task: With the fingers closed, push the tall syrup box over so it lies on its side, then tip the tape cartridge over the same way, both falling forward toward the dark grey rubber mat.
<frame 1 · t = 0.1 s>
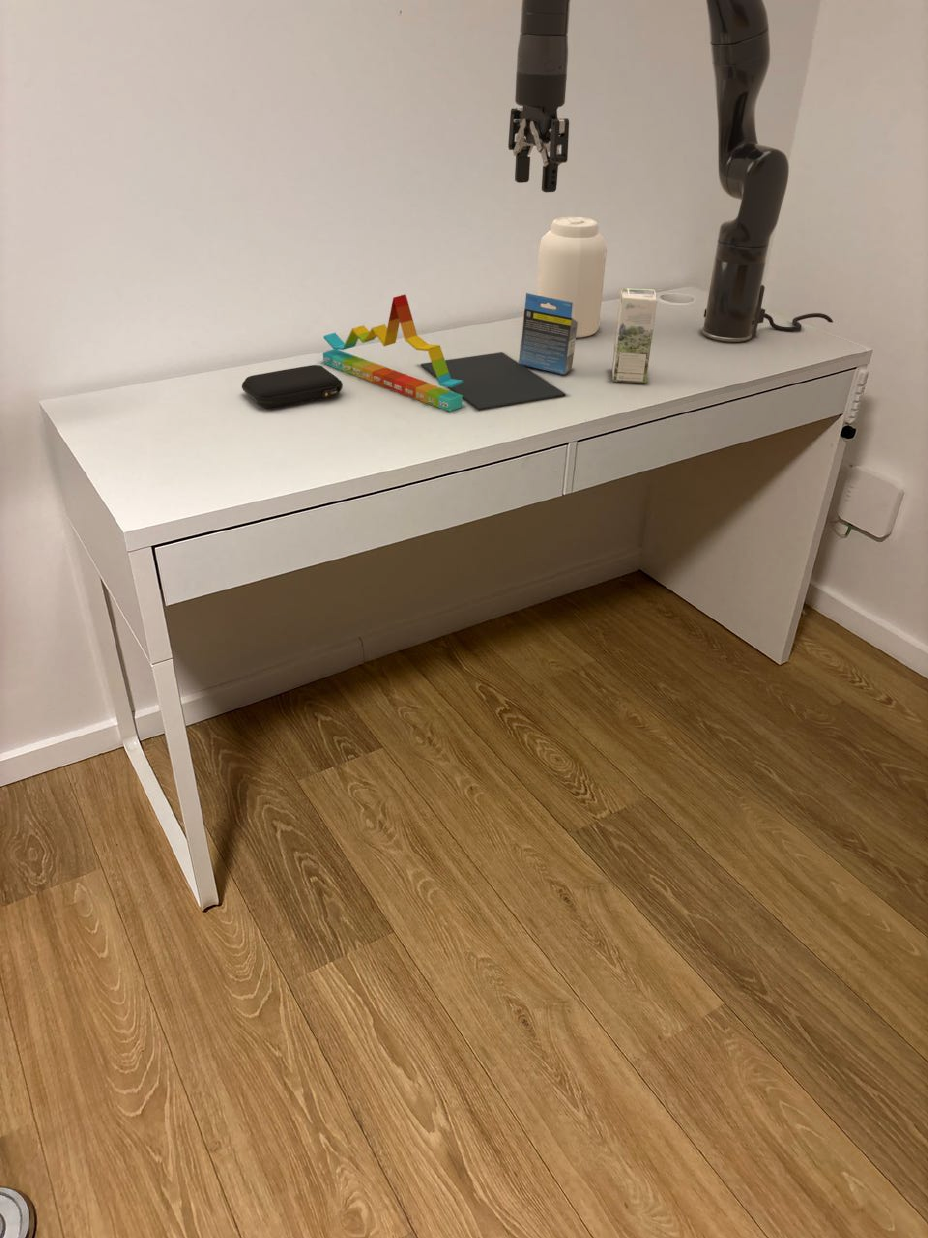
hand: (534, 186, 154), 29 cm above the table, tool pointing down, fingers open, 8 cm apart
carrying case: (294, 397, 156), on the table
syrup box: (628, 378, 167), on the table
chart: (389, 385, 161), on the table
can: (566, 329, 188), on the table
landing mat: (490, 380, 164), on the table
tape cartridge: (545, 368, 169), on the table, touching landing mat
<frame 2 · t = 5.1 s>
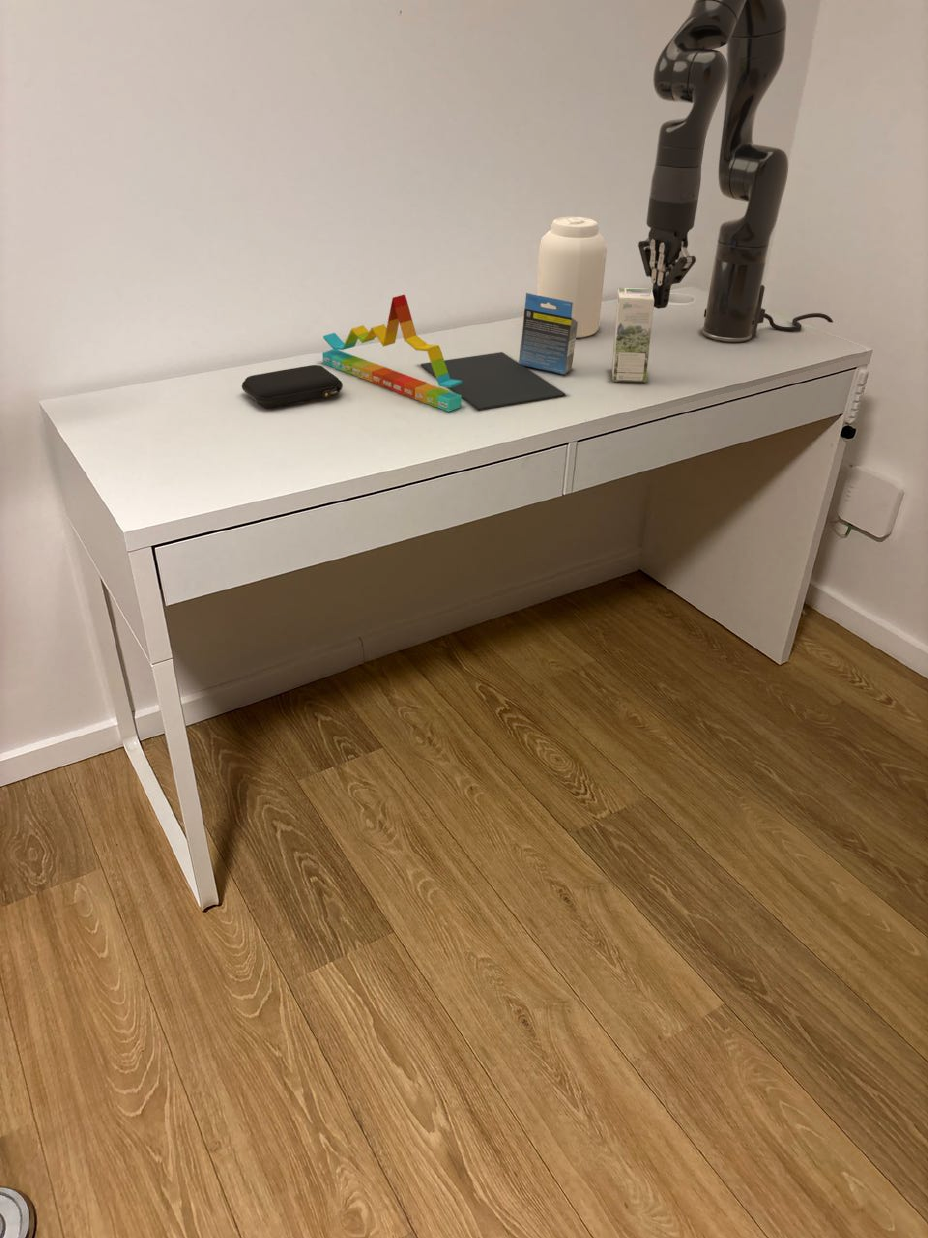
hand: (658, 306, 162), 12 cm above the table, tool pointing down, fingers closed
nothing on the table moved.
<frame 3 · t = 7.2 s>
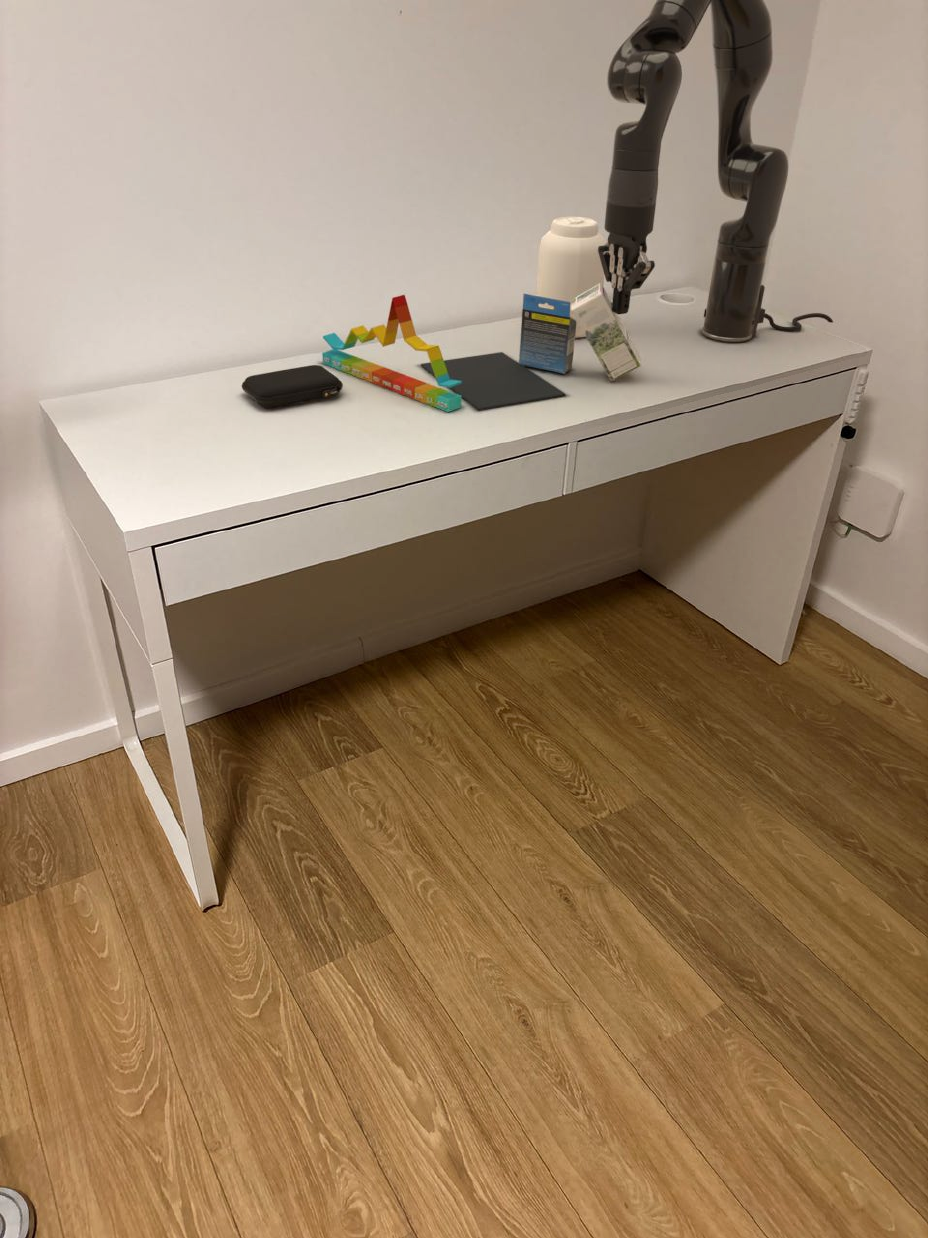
hand: (619, 312, 159), 12 cm above the table, tool pointing down, fingers closed
syrup box: (626, 369, 166), point 1 cm above the table, touching gripper, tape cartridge
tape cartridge: (545, 367, 169), on the table, touching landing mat, syrup box
everything else where it was.
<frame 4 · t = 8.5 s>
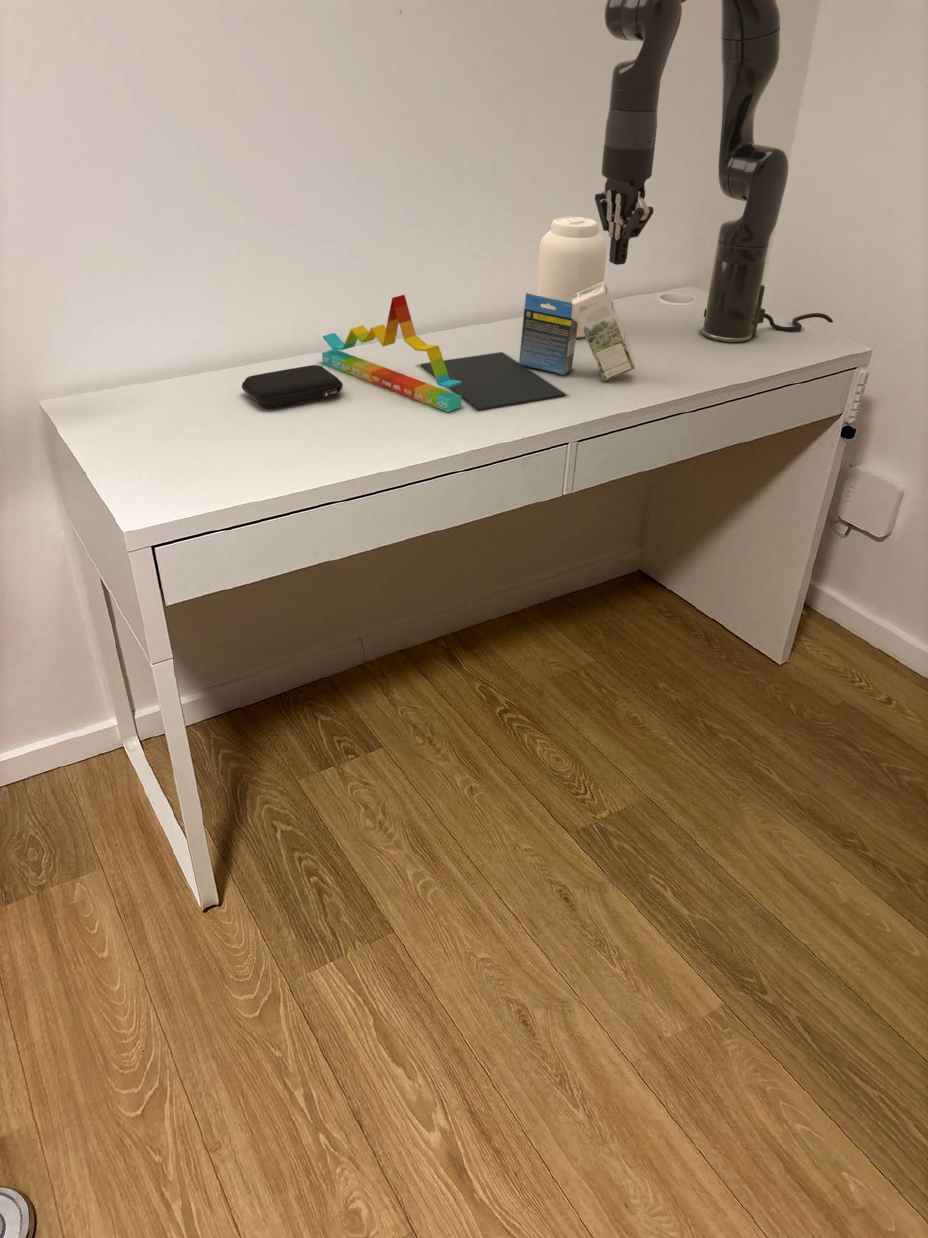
hand: (617, 262, 154), 20 cm above the table, tool pointing down, fingers closed
syrup box: (620, 371, 166), point 1 cm above the table
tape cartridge: (545, 368, 169), on the table, touching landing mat
everything else where it was.
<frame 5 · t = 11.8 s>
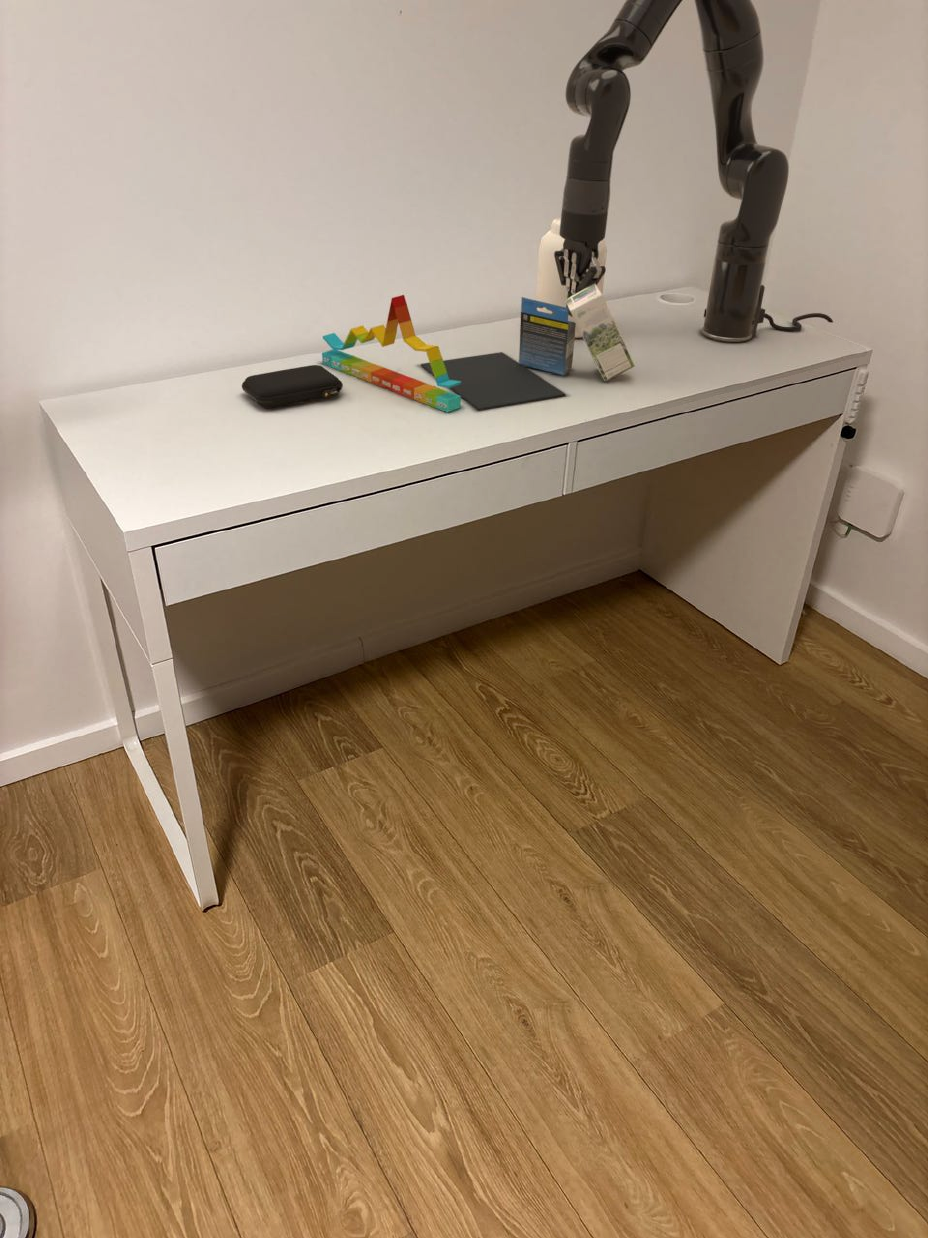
hand: (573, 314, 167), 9 cm above the table, tool pointing down, fingers closed
syrup box: (617, 369, 166), point 1 cm above the table, touching hand, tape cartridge
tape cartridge: (545, 367, 169), on the table, touching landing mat, syrup box
everything else where it was.
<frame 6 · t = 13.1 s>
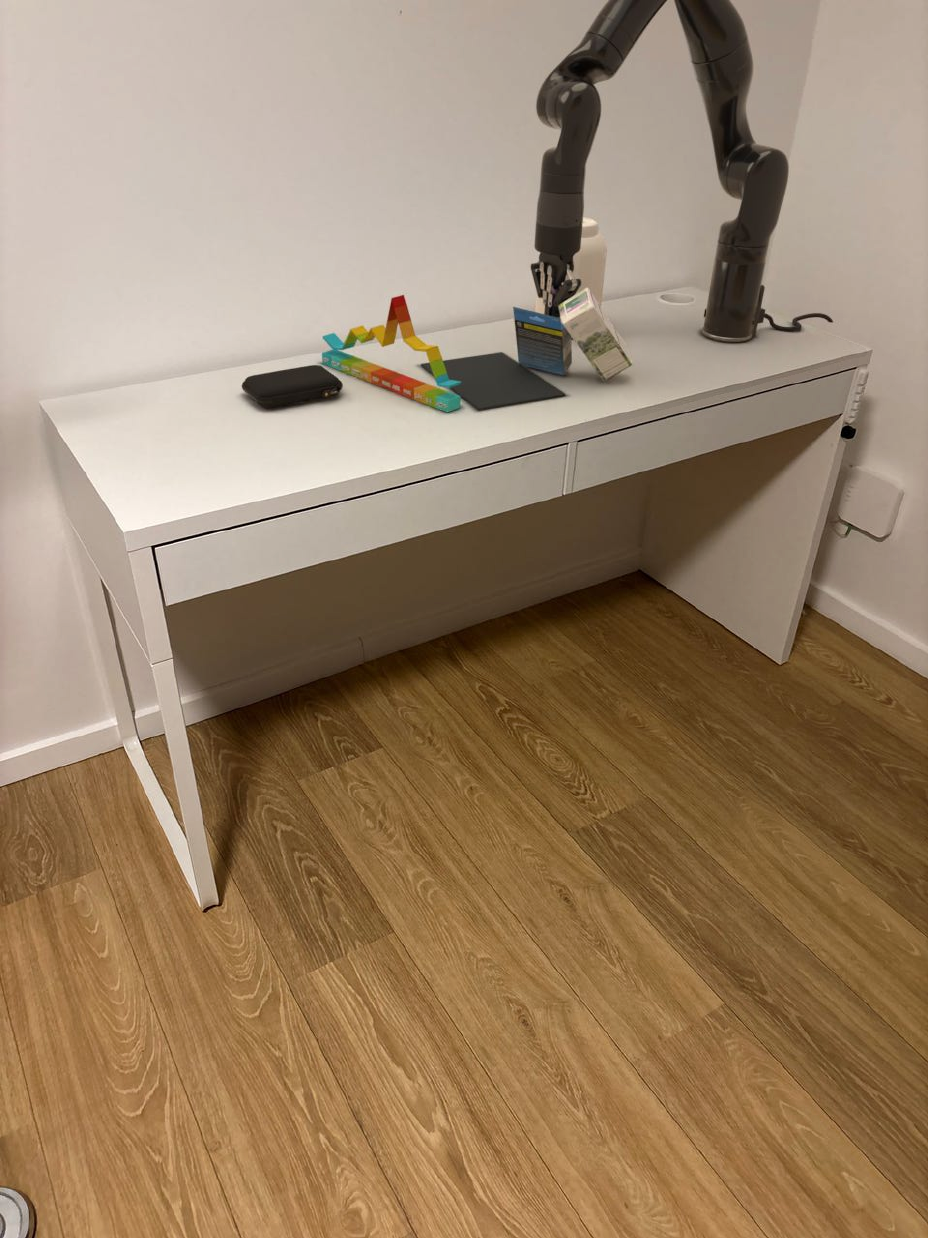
hand: (551, 327, 166), 7 cm above the table, tool pointing down, fingers closed
syrup box: (616, 365, 165), point 2 cm above the table, touching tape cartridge
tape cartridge: (545, 364, 169), point 1 cm above the table, touching syrup box
everything else where it was.
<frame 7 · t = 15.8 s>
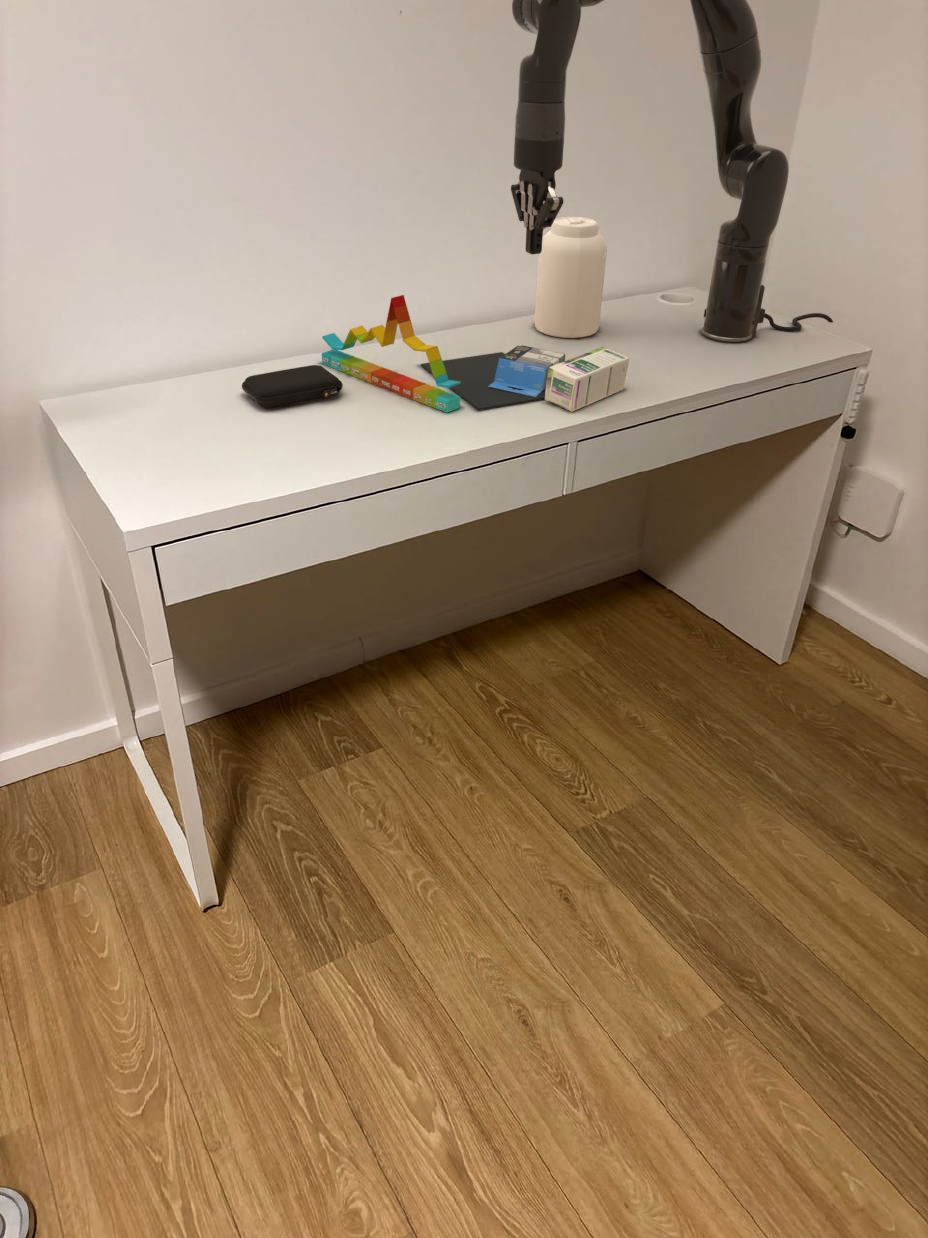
hand: (533, 252, 157), 20 cm above the table, tool pointing down, fingers closed
syrup box: (614, 368, 162), point 3 cm above the table, touching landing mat
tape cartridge: (542, 358, 167), point 2 cm above the table, touching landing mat
everything else where it was.
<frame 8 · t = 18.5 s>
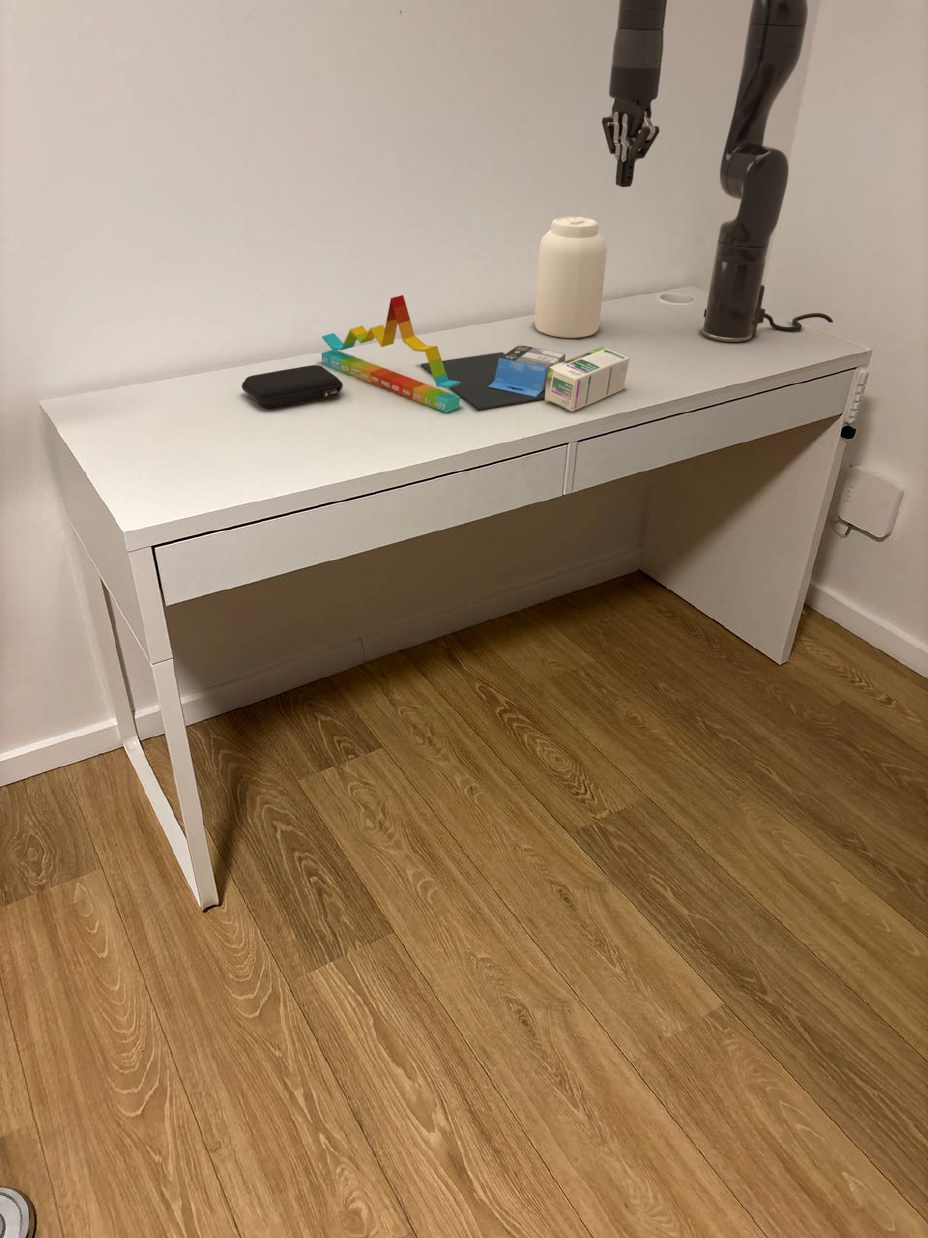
hand: (623, 185, 157), 29 cm above the table, tool pointing down, fingers closed
nothing on the table moved.
at the end: syrup box tilted 89°; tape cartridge tilted 89°; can moved 0.2 cm from its start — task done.
